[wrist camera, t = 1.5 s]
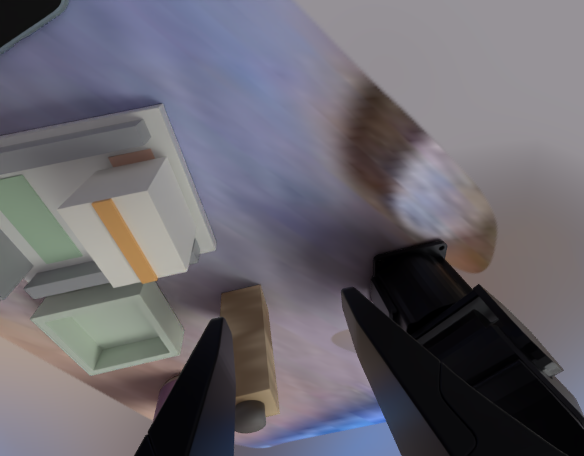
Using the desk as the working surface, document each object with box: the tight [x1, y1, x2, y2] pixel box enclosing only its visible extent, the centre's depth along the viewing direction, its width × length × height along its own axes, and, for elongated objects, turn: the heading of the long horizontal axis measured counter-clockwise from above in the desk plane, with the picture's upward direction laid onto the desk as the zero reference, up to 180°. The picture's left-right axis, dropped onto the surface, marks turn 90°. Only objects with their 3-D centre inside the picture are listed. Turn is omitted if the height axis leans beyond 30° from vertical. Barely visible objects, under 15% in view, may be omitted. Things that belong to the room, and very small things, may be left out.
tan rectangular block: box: [220, 285, 280, 433], centre depth 22 cm, size 3×3×10 cm
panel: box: [0, 104, 217, 301], centre depth 17 cm, size 13×10×4 cm
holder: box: [30, 281, 184, 376], centre depth 23 cm, size 8×8×2 cm
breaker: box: [57, 156, 197, 288], centre depth 16 cm, size 4×5×5 cm
